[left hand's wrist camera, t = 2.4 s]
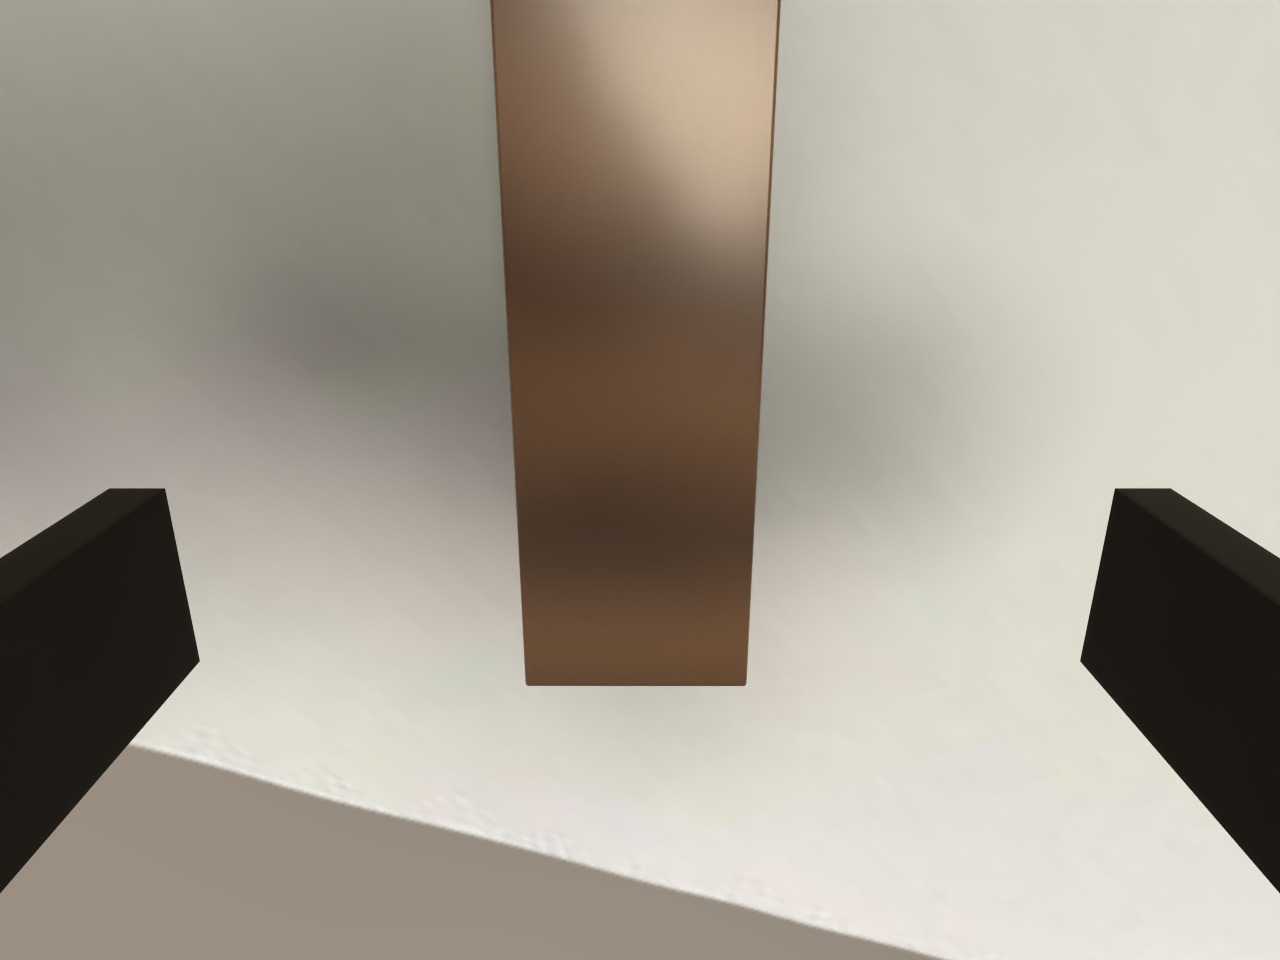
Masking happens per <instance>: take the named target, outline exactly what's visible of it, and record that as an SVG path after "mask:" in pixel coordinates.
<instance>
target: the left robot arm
mask: <svg viewBox="0 0 1280 960" xmlns="http://www.w3.org/2000/svg"><path fill="white" fill-rule="evenodd" d="M199 661H200V660H199V655H198V650H197V645H196V640H195V635H194V630H193V625H192V620H191V615H190V610H189V605H188V600H187V595H186V590H185V585H184V580H183V576H182V571H181V566H180V561H179V556H178V551H177V546H176V541H175V536H174V531H173V526H172V521H171V516H170V511H169V506H168V501H167V496H166V491H165V489H108V490H106V491H105V492H103V493H102V494H100V495H99V496H97V497H95V498H94V499H92V500H91V501H89V502H88V503H86V504H84V505H83V506H81V507H80V508H78V509H77V510H75V511H74V512H72V513H70V514H69V515H67V516H66V517H64V518H63V519H61V520H59V521H58V522H56V523H55V524H53V525H52V526H50V527H49V528H47V529H45V530H44V531H42V532H41V533H39V534H38V535H36V536H34V537H33V538H31V539H30V540H28V541H27V542H25V543H24V544H22V545H20V546H19V547H17V548H16V549H14V550H13V551H11V552H9V553H8V554H6V555H5V556H3V557H2V558H0V893H1V892H2V890H3V889H4V888H5V887H6V886H7V885H8V884H9V882H10V881H11V880H12V879H13V878H14V877H15V875H16V874H17V873H18V872H19V871H20V870H21V868H22V867H23V866H24V865H25V864H26V863H27V861H28V860H29V859H30V858H31V857H32V856H33V854H34V853H35V852H36V851H37V850H38V849H39V847H40V846H41V845H42V844H43V843H44V842H45V840H46V839H47V838H48V837H49V836H50V835H51V833H52V832H53V831H54V830H55V829H56V828H57V827H58V825H59V824H60V823H61V822H62V821H63V820H64V818H65V817H66V816H67V815H68V814H69V813H70V811H71V810H72V809H73V808H74V807H75V806H76V804H77V803H78V802H79V801H80V800H81V799H82V797H83V796H84V795H85V794H86V793H87V792H88V791H89V789H90V788H91V787H92V786H93V785H94V784H95V782H96V781H97V780H98V779H99V778H100V777H101V775H102V774H103V773H104V772H105V771H106V770H107V768H108V767H109V766H110V765H111V764H112V763H113V761H114V760H115V759H116V758H117V757H118V756H119V754H120V753H121V752H122V751H123V750H124V749H125V747H126V746H127V745H128V744H129V743H130V742H131V740H132V739H133V738H134V737H135V736H136V735H137V734H138V732H139V731H140V730H141V729H142V728H143V727H144V725H145V724H146V723H147V722H148V721H149V720H150V718H151V717H152V716H153V715H154V714H155V713H156V711H157V710H158V709H159V708H160V707H161V706H162V704H163V703H164V702H165V701H166V700H167V699H168V697H169V696H170V695H171V694H172V693H173V692H174V690H175V689H176V688H177V687H178V686H179V685H180V684H181V682H182V681H183V680H184V679H185V678H186V677H187V675H188V674H189V673H190V672H191V671H192V670H193V668H194V667H195V666H196V665H197V664H198V663H199ZM1080 661H1081V663H1082V664H1083V665H1084V666H1085V667H1086V668H1087V670H1088V671H1089V672H1090V673H1091V674H1092V675H1093V677H1094V678H1095V679H1096V680H1097V681H1098V682H1099V684H1100V685H1101V686H1102V687H1103V688H1104V689H1105V690H1106V692H1107V693H1108V694H1109V695H1110V696H1111V697H1112V699H1113V700H1114V701H1115V702H1116V703H1117V704H1118V706H1119V707H1120V708H1121V709H1122V710H1123V711H1124V713H1125V714H1126V715H1127V716H1128V717H1129V718H1130V720H1131V721H1132V722H1133V723H1134V724H1135V725H1136V727H1137V728H1138V729H1139V730H1140V731H1141V732H1142V734H1143V735H1144V736H1145V737H1146V738H1147V739H1148V740H1149V742H1150V743H1151V744H1152V745H1153V746H1154V747H1155V749H1156V750H1157V751H1158V752H1159V753H1160V754H1161V756H1162V757H1163V758H1164V759H1165V760H1166V761H1167V763H1168V764H1169V765H1170V766H1171V767H1172V768H1173V770H1174V771H1175V772H1176V773H1177V774H1178V775H1179V777H1180V778H1181V779H1182V780H1183V781H1184V782H1185V784H1186V785H1187V786H1188V787H1189V788H1190V789H1191V791H1192V792H1193V793H1194V794H1195V795H1196V796H1197V797H1198V799H1199V800H1200V801H1201V802H1202V803H1203V804H1204V806H1205V807H1206V808H1207V809H1208V810H1209V811H1210V813H1211V814H1212V815H1213V816H1214V817H1215V818H1216V820H1217V821H1218V822H1219V823H1220V824H1221V825H1222V827H1223V828H1224V829H1225V830H1226V831H1227V832H1228V834H1229V835H1230V836H1231V837H1232V838H1233V839H1234V841H1235V842H1236V843H1237V844H1238V845H1239V846H1240V847H1241V849H1242V850H1243V851H1244V852H1245V853H1246V854H1247V856H1248V857H1249V858H1250V859H1251V860H1252V861H1253V863H1254V864H1255V865H1256V866H1257V867H1258V868H1259V870H1260V871H1261V872H1262V873H1263V874H1264V875H1265V877H1266V878H1267V879H1268V880H1269V881H1270V882H1271V884H1272V885H1273V886H1274V887H1275V888H1276V889H1277V891H1278V892H1279V893H1280V558H1278V557H1277V556H1275V555H1274V554H1272V553H1271V552H1269V551H1267V550H1266V549H1264V548H1263V547H1261V546H1260V545H1258V544H1256V543H1255V542H1253V541H1252V540H1250V539H1249V538H1247V537H1246V536H1244V535H1242V534H1241V533H1239V532H1238V531H1236V530H1235V529H1233V528H1231V527H1230V526H1228V525H1227V524H1225V523H1224V522H1222V521H1221V520H1219V519H1217V518H1216V517H1214V516H1213V515H1211V514H1210V513H1208V512H1206V511H1205V510H1203V509H1202V508H1200V507H1199V506H1197V505H1196V504H1194V503H1192V502H1191V501H1189V500H1188V499H1186V498H1185V497H1183V496H1181V495H1180V494H1178V493H1177V492H1175V491H1174V490H1172V489H1115V491H1114V496H1113V501H1112V506H1111V511H1110V516H1109V521H1108V526H1107V531H1106V536H1105V541H1104V546H1103V551H1102V556H1101V561H1100V566H1099V571H1098V576H1097V580H1096V585H1095V590H1094V595H1093V600H1092V605H1091V610H1090V615H1089V620H1088V625H1087V630H1086V635H1085V640H1084V645H1083V650H1082V655H1081V660H1080Z"/></svg>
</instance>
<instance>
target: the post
mask: <svg viewBox="0 0 1280 960" xmlns="http://www.w3.org/2000/svg"><path fill="white" fill-rule="evenodd" d="M490 5H491V24H492V43H493V63H494V82H495V101H496V120H497V140H498V159H499V178H500V197H501V217H502V236H503V255H504V275H505V294H506V313H507V332H508V352H509V371H510V390H511V409H512V429H513V448H514V467H515V486H516V506H517V525H518V544H519V563H520V583H521V602H522V621H523V641H524V660H525V679H526V685H528V686H745V685H746V680H747V660H748V640H749V621H750V601H751V581H752V561H753V541H754V521H755V501H756V482H757V462H758V442H759V422H760V402H761V382H762V362H763V343H764V323H765V303H766V283H767V263H768V243H769V224H770V204H771V184H772V164H773V144H774V124H775V104H776V85H777V65H778V45H779V25H780V5H781V0H490Z"/></svg>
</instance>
